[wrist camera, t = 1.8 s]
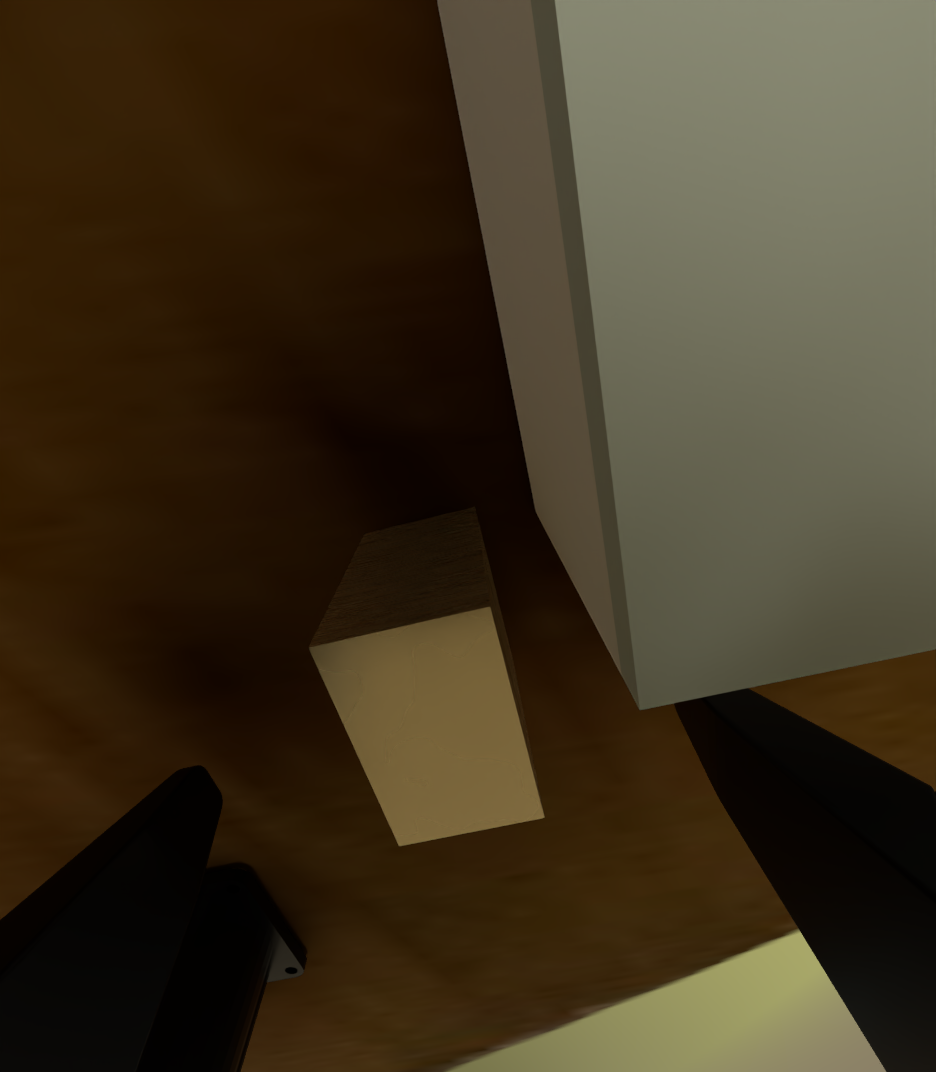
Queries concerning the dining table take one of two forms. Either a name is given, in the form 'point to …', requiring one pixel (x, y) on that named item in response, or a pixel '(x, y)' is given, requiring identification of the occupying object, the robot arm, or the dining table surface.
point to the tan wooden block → (429, 681)
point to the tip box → (718, 318)
